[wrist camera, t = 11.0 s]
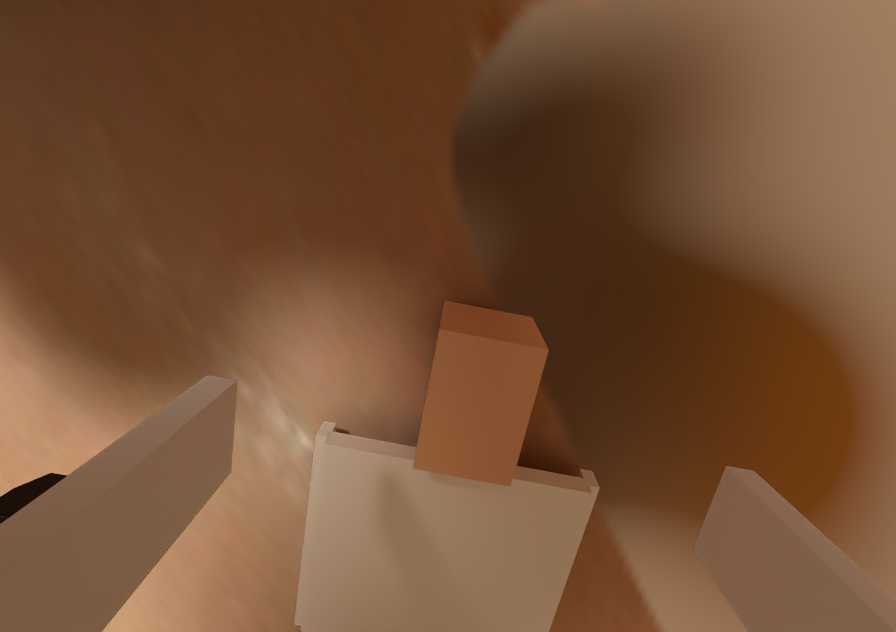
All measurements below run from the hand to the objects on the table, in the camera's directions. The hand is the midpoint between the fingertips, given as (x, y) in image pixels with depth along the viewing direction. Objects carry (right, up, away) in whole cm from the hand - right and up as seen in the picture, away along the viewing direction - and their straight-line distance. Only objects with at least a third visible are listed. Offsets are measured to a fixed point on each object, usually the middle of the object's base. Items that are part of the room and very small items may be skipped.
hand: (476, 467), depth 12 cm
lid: (-1, -4, +11) cm, 11 cm away
